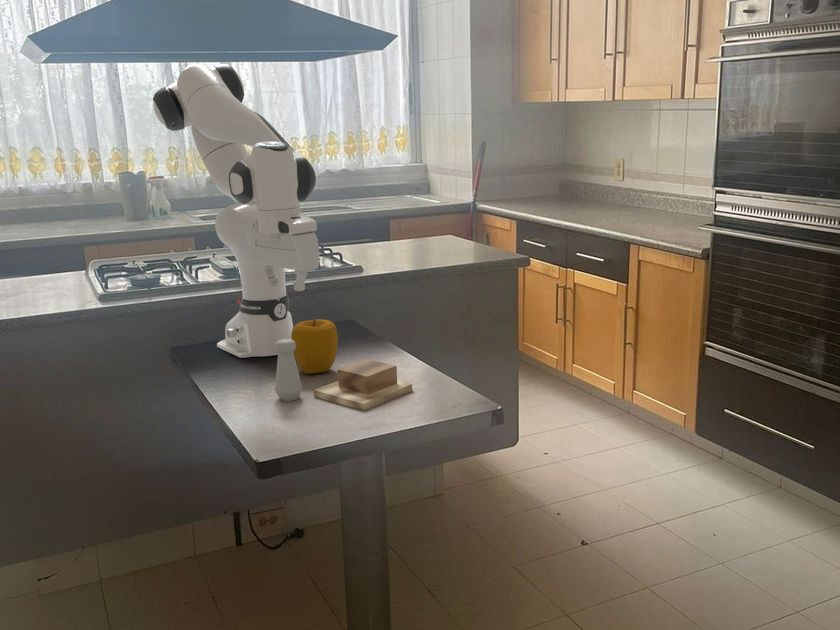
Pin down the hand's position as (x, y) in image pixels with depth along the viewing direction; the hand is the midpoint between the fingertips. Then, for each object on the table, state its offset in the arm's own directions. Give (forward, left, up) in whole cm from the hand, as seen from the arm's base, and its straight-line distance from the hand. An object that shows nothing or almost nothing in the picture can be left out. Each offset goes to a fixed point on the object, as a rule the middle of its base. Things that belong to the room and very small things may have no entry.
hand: (286, 288), depth 169 cm
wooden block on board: (+11, +10, -24) cm, 28 cm away
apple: (-9, +14, -24) cm, 30 cm away
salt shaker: (0, -2, -24) cm, 24 cm away
